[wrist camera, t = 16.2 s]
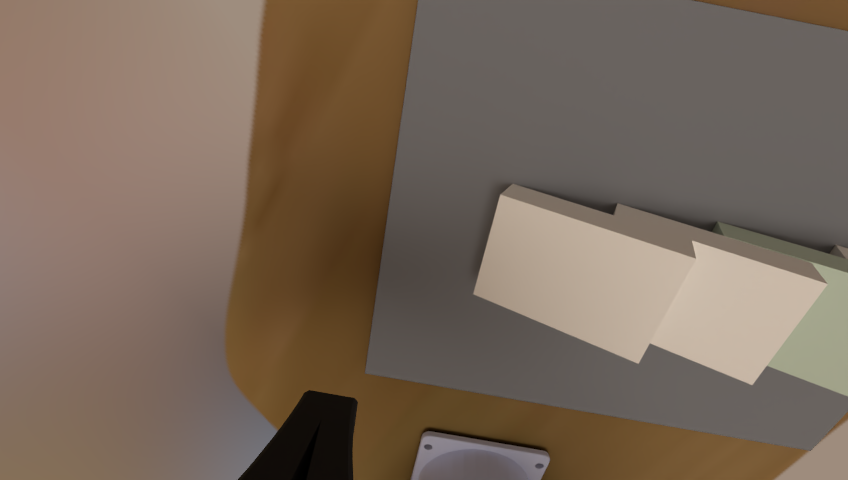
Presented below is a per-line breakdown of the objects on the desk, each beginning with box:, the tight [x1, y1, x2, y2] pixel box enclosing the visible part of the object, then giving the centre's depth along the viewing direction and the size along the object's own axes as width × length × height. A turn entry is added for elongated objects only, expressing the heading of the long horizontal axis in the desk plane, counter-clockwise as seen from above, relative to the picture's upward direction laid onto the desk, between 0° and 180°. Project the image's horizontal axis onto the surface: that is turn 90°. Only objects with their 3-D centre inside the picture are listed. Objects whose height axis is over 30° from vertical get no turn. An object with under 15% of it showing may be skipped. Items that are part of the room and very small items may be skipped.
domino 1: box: [473, 184, 696, 364], centre depth 17 cm, size 2×5×7 cm
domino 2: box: [613, 203, 828, 385], centre depth 17 cm, size 2×5×7 cm
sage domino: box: [712, 221, 848, 396], centre depth 17 cm, size 2×5×7 cm
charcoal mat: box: [365, 0, 848, 451], centre depth 19 cm, size 20×26×1 cm
